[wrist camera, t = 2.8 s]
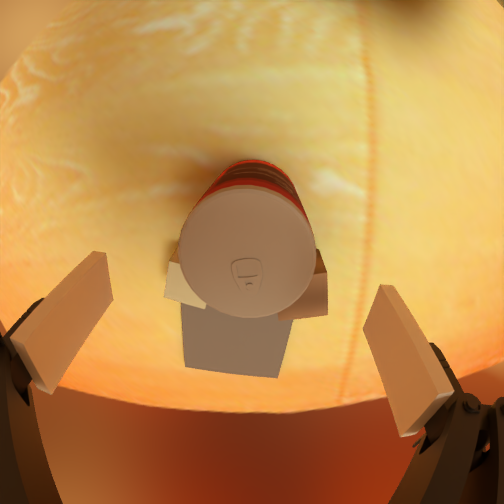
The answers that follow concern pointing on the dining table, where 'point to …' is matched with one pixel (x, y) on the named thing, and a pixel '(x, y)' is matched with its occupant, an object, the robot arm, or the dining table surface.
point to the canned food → (248, 242)
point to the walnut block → (310, 296)
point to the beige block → (180, 285)
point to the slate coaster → (233, 342)
